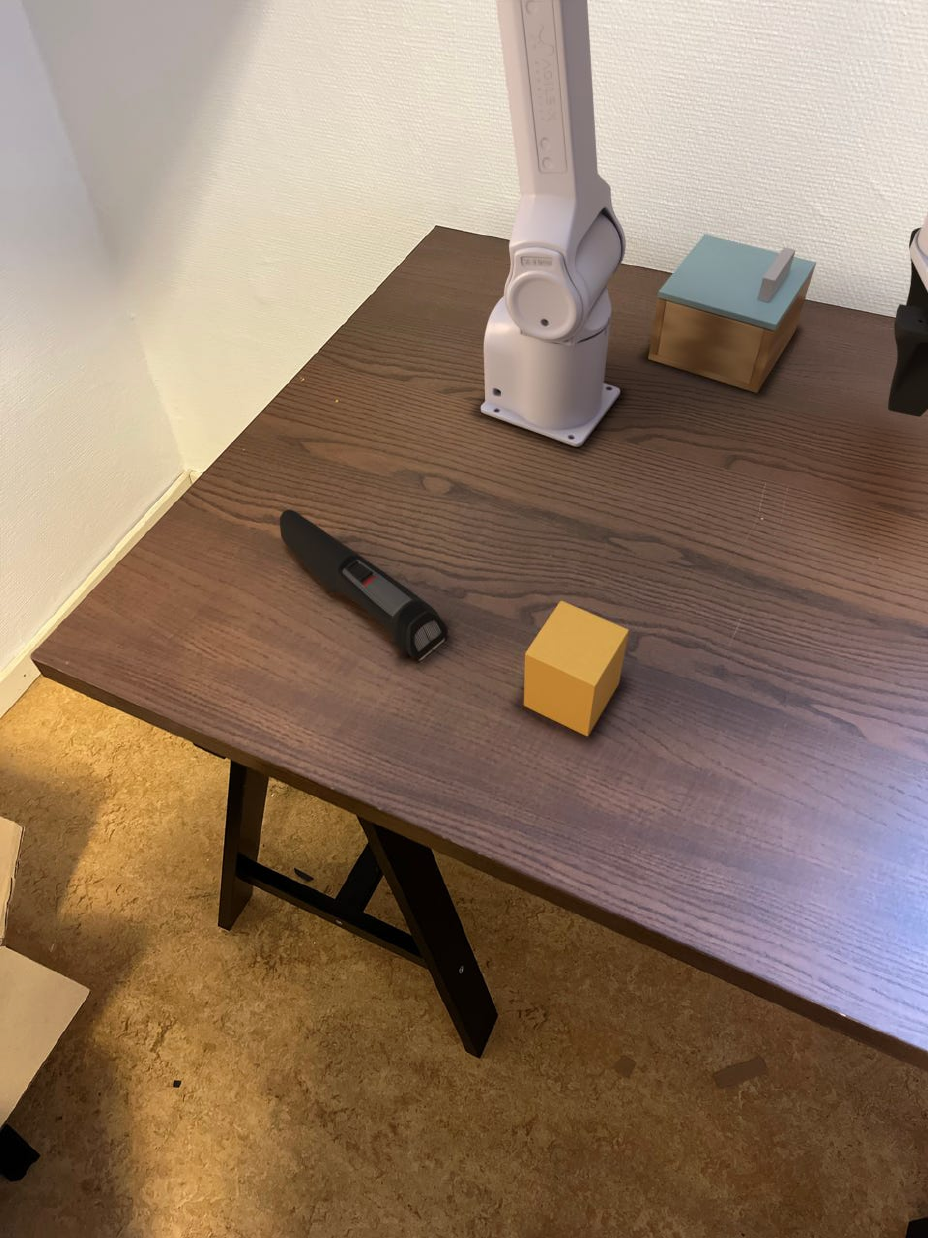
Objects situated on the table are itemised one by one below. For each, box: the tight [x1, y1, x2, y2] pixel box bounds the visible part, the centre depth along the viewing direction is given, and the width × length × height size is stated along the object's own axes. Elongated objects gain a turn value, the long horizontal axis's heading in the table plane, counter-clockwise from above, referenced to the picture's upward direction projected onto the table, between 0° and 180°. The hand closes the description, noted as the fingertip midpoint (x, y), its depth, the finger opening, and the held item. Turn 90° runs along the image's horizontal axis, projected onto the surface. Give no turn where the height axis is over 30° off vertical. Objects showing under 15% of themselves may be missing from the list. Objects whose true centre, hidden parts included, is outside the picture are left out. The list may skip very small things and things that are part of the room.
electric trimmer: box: [279, 509, 449, 662], centre depth 61 cm, size 4×16×3 cm, turn 45°
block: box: [523, 600, 630, 737], centre depth 53 cm, size 5×5×6 cm
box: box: [648, 269, 815, 394], centre depth 75 cm, size 10×10×6 cm
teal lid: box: [657, 233, 817, 331], centre depth 71 cm, size 10×10×3 cm
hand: (910, 375), depth 58 cm, fingers open, 7 cm apart
